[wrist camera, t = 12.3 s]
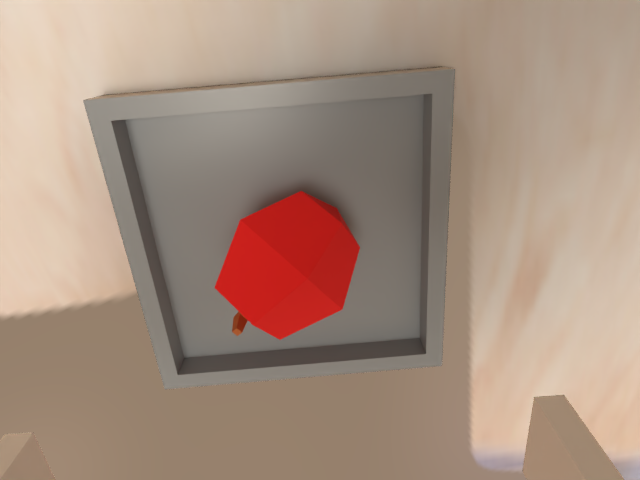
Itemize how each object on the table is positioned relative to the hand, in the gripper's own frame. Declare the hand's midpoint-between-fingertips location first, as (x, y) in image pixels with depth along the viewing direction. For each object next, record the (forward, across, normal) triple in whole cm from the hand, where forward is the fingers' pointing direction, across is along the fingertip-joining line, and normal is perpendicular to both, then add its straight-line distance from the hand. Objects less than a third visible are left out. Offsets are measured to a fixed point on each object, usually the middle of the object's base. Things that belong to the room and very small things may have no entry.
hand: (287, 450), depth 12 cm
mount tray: (+15, +1, 0) cm, 15 cm away
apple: (+14, +1, 0) cm, 15 cm away
